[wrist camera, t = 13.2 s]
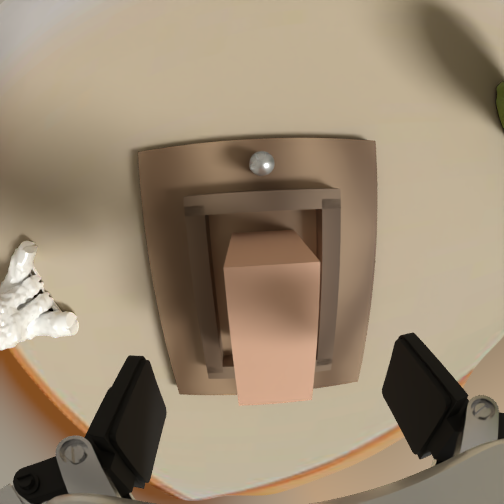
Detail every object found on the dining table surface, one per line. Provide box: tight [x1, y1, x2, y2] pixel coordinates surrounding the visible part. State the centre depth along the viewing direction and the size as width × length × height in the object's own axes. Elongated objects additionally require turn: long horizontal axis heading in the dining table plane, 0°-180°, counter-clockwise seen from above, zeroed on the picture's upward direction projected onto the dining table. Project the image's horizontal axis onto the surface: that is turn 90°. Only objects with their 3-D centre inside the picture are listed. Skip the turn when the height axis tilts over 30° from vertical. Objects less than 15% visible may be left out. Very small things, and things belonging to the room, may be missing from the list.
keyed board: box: [138, 138, 377, 395], centre depth 19 cm, size 16×20×3 cm
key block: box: [223, 230, 320, 405], centre depth 16 cm, size 8×4×7 cm, turn 3°
